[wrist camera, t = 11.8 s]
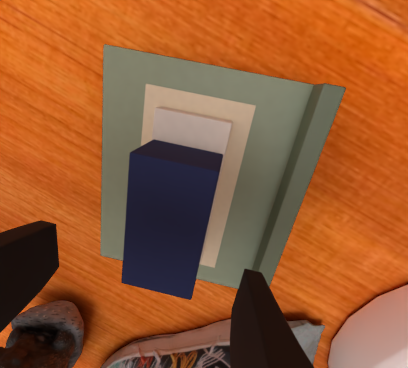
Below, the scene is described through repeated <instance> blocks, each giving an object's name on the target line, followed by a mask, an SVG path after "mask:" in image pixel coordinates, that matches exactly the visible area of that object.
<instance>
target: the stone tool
mask: <svg viewBox="0 0 408 368" xmlns="http://www.w3.org/2000/svg"><path fill="white" fill-rule="evenodd" d="M287 322H288V324H289V326H290V328H291V329H292V331H293V333H294V335H295V337H296V338H297V340H298V342H299V344H300V345H301V347H302V349H303V350H304V352H305V354H306V355H307V357H308V358H309V360H310V362H311V363H312V365H313V362H314V355H315V354H316V351H317V347H318V343H319V341H320V338H321V333H322V332H323V330H324V328H325V325H314V324H312V323H310V322H309V321H308V320H298V321H287Z"/></svg>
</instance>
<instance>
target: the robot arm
mask: <svg viewBox="0 0 408 368" xmlns="http://www.w3.org/2000/svg"><path fill="white" fill-rule="evenodd" d="M58 267H59V258H58V245H57V232H56V224H53V223H49V222H45V221H37V222H33V223H30V224H27V225H23V226H20V227H17V228H14V229H11V230H8V231H5V232H2V233H0V332H1V331H2V330H3V329H4V328H5V327H6V326H7V325H8V324H9V323H10V322H11V321H12V320H13V319H14V318H15V317H16V316H17V315H18V314H19V313H20V312H21V311H22V310H23V309H24V308H25V307H26V306H27V305H28V304H29V303H30V301H31V300H32V299H33V298H34V297H35V296H36V295H37V294H38V293H39V292H40V291H41V290H42V288H43V287H44V286H45V285H46V283H47V282H48V281H49V279H50V278H51V277H52V275H53V274H54V273H55V271H56V270H57V269H58ZM230 368H314V367H313V365H312V363H311V362H310V360H309V358H308V357H307V355H306V354H305V352H304V350H303V349H302V347H301V345H300V344H299V342H298V340H297V338H296V337H295V335H294V333H293V331H292V329H291V328H290V326H289V324H288V322H287V321H286V319H285V317H284V315H283V313H282V311H281V309H280V308H279V306H278V304H277V302H276V300H275V298H274V296H273V294H272V292H271V290H270V288H269V286H268V284H267V282H266V280H265V278H264V276H263V274H262V272H258V271H254V270H249V269H244V272H243V275H242V279H241V282H240V285H239V288H238V291H237V294H236V298H235V301H234V304H233V307H232V314H231V328H230Z"/></svg>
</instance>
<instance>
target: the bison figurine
mask: <svg viewBox="0 0 408 368" xmlns="http://www.w3.org/2000/svg"><path fill="white" fill-rule="evenodd" d="M11 324H12V329H13V330H12V332H11V333H10V335H9V337H8V339H7V343H6V347H5V348H3V347H0V368H72V367H73V366H74V365H75V363H76V361H77V359H78V358H79V356H80V355H81V353H82V349H83V336H84V322H83V320H82V317H81V315H80V313H79V310H78V309H77V307H76V305H74V304H73V303H72V302H69V301H64V300H58V301H53V302H50V303H47V304H44V305H39V306H35V307H32V308H30V309H28V310H27V311H25V312H23V313H21V314H19V315H17V316H16V317H15V318H14V319H13V320H12V322H11Z"/></svg>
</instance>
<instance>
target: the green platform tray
mask: <svg viewBox="0 0 408 368" xmlns="http://www.w3.org/2000/svg"><path fill="white" fill-rule="evenodd" d="M345 90H346V88H345V87H341V86H336V85H331V84H326V83H324V84H316V85H314V84H309V83H303V82H298V81H293V80H288V79H283V78H278V77H272V76H267V75H262V74H257V73H252V72H246V71H241V70H236V69H231V68H226V67H220V66H215V65H210V64H205V63H200V62H195V61H189V60H184V59H179V58H174V57H169V56H163V55H158V54H153V53H148V52H143V51H137V50H132V49H127V48H122V47H117V46H111V45H106V44H105V45H104V51H103V118H102V186H101V254H100V255H101V256H105V257H109V258H113V259H117V260H121V261H123V252H124V235H125V219H126V203H127V187H128V171H129V155H130V152H131V151H133V150H135V149H137V148H139V147H141V146H142V145H144V144H146V143H148V142H150V141H152V132H153V121H154V111H155V108H156V107H162V106H163V107H168V108H173V109H178V110H183V111H188V112H192V113H197V114H202V115H207V116H212V117H217V118H222V119H226V120H231V121H232V128H231V132H230V136H229V141H228V145H227V150H226V154H225V159H224V163H223V168H222V172H221V176H220V181H219V185H218V190H217V194H216V199H215V203H214V207H213V212H212V216H211V221H210V225H209V230H208V234H207V239H206V243H205V247H204V252H203V256H202V261H201V264H199V267H198V272H197V276H196V279H199V280H203V281H207V282H212V283H216V284H220V285H224V286H228V287H232V288H236V289H238V288H239V285H240V282H241V279H242V275H243V272H244V269H249V270H254V271H258V272H262V274H263V276H264V278H265V280H266V282H267V284H268V286H270V284H271V281H272V278H273V276H274V273H275V271H276V268H277V266H278V263H279V260H280V258H281V255H282V253H283V250H284V247H285V245H286V242H287V240H288V237H289V234H290V232H291V229H292V227H293V224H294V222H295V219H296V216H297V214H298V211H299V209H300V206H301V203H302V201H303V198H304V196H305V193H306V190H307V188H308V185H309V183H310V180H311V178H312V175H313V172H314V170H315V167H316V165H317V162H318V159H319V157H320V154H321V152H322V149H323V147H324V144H325V141H326V139H327V136H328V134H329V131H330V128H331V126H332V123H333V121H334V118H335V115H336V113H337V110H338V108H339V105H340V103H341V100H342V97H343V95H344V92H345Z"/></svg>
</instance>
